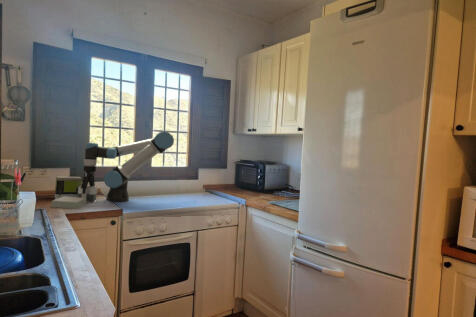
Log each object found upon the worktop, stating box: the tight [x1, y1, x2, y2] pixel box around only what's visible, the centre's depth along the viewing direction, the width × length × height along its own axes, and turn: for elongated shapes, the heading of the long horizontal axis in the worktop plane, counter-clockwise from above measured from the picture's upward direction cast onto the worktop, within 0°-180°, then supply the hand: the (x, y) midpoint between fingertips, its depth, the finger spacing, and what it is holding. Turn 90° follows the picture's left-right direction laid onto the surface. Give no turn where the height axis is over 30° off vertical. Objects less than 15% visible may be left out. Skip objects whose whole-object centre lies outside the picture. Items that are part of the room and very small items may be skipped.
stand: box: [50, 197, 87, 210], centre depth 183 cm, size 14×16×4 cm
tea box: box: [54, 176, 83, 200], centre depth 205 cm, size 15×10×15 cm, turn 123°
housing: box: [76, 185, 98, 203], centre depth 203 cm, size 12×6×10 cm, turn 99°
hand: (87, 197), depth 203 cm, fingers open, 13 cm apart
